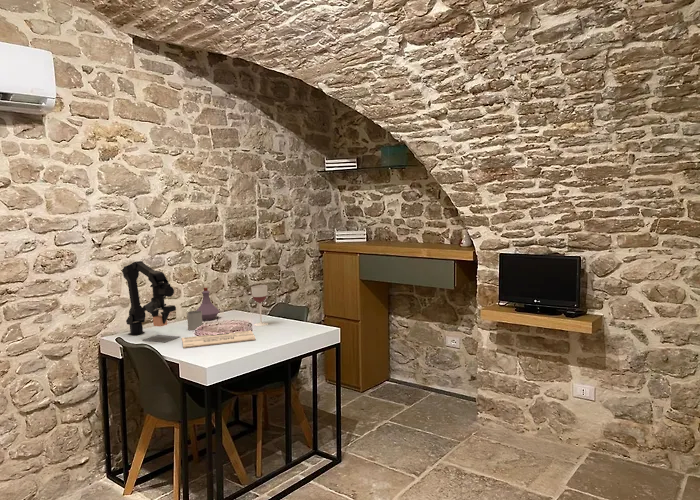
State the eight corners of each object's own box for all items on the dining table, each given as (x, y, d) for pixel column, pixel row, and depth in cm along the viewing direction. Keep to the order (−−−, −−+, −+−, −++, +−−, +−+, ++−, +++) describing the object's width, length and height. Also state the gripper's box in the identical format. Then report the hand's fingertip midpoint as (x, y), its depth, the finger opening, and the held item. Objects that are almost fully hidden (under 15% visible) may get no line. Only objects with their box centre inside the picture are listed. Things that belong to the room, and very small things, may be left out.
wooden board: (250, 334, 311) (250, 329, 310) (256, 342, 292) (255, 337, 292) (182, 341, 299) (181, 336, 299) (183, 350, 281) (183, 345, 280)
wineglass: (272, 323, 334) (270, 285, 332) (261, 326, 326) (259, 288, 324) (260, 321, 339) (259, 284, 337) (249, 325, 331) (247, 287, 329)
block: (153, 325, 303) (153, 317, 302) (160, 323, 307) (159, 315, 307) (160, 326, 301) (160, 317, 300) (167, 324, 305) (166, 315, 305)
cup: (198, 330, 321) (197, 313, 320) (185, 330, 323) (184, 313, 322) (205, 327, 329) (204, 310, 329) (192, 327, 331) (191, 310, 330)
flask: (225, 316, 358) (223, 286, 356) (210, 322, 343) (208, 290, 341) (204, 315, 364) (202, 285, 362) (188, 321, 349) (186, 289, 347)
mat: (142, 340, 302) (142, 339, 302) (157, 335, 313) (157, 334, 313) (164, 342, 296) (164, 341, 296) (180, 337, 307) (180, 336, 307)
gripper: (134, 297, 299) (136, 325, 300) (161, 298, 291) (163, 327, 293) (149, 293, 309) (151, 321, 310) (175, 295, 301) (177, 323, 303)
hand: (160, 323), depth 304 cm, fingers closed on block, 5 cm apart
